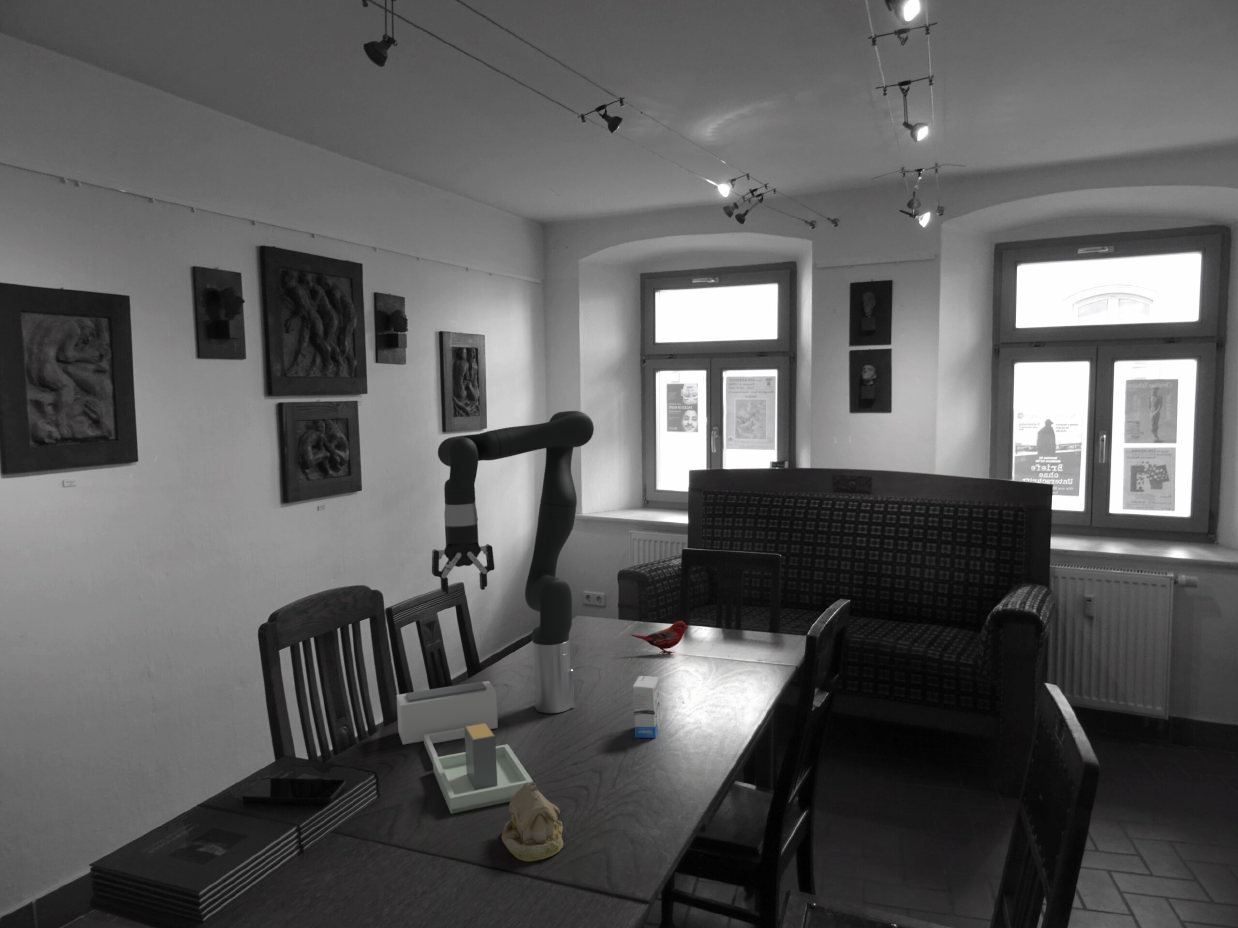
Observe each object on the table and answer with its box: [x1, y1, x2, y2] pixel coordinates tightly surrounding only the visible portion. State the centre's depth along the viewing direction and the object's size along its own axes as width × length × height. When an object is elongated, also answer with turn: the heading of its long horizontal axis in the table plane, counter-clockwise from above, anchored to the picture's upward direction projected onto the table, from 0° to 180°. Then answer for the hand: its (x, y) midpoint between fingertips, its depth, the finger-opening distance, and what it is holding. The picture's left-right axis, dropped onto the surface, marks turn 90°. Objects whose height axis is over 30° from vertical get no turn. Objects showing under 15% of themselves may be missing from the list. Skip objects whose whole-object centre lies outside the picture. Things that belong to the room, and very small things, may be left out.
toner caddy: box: [464, 723, 497, 790], centre depth 166 cm, size 4×8×10 cm, turn 22°
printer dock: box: [396, 680, 499, 764], centre depth 188 cm, size 22×24×10 cm
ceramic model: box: [501, 782, 564, 862], centre depth 144 cm, size 14×11×10 cm
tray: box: [432, 743, 534, 814], centre depth 167 cm, size 16×20×3 cm
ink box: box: [632, 675, 661, 739], centre depth 191 cm, size 9×5×12 cm, turn 168°
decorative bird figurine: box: [630, 620, 690, 655], centre depth 251 cm, size 3×18×10 cm, turn 89°
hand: (464, 591), depth 194 cm, fingers open, 8 cm apart
